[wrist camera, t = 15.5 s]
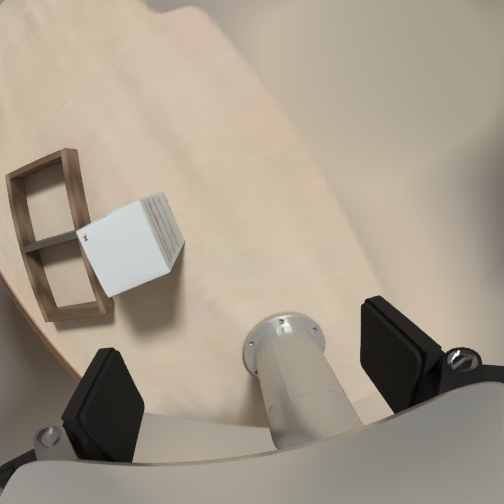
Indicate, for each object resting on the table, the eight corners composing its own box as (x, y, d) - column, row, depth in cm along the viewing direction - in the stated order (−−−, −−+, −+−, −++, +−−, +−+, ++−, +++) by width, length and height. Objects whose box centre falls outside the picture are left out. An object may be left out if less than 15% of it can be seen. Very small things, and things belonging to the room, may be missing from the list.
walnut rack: (114, 303, 38) (106, 314, 35) (55, 312, 38) (45, 322, 34) (77, 149, 32) (65, 148, 29) (18, 174, 31) (5, 175, 28)
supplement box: (138, 262, 37) (106, 300, 25) (116, 212, 35) (72, 230, 23) (186, 242, 37) (172, 274, 25) (165, 189, 35) (138, 196, 23)
